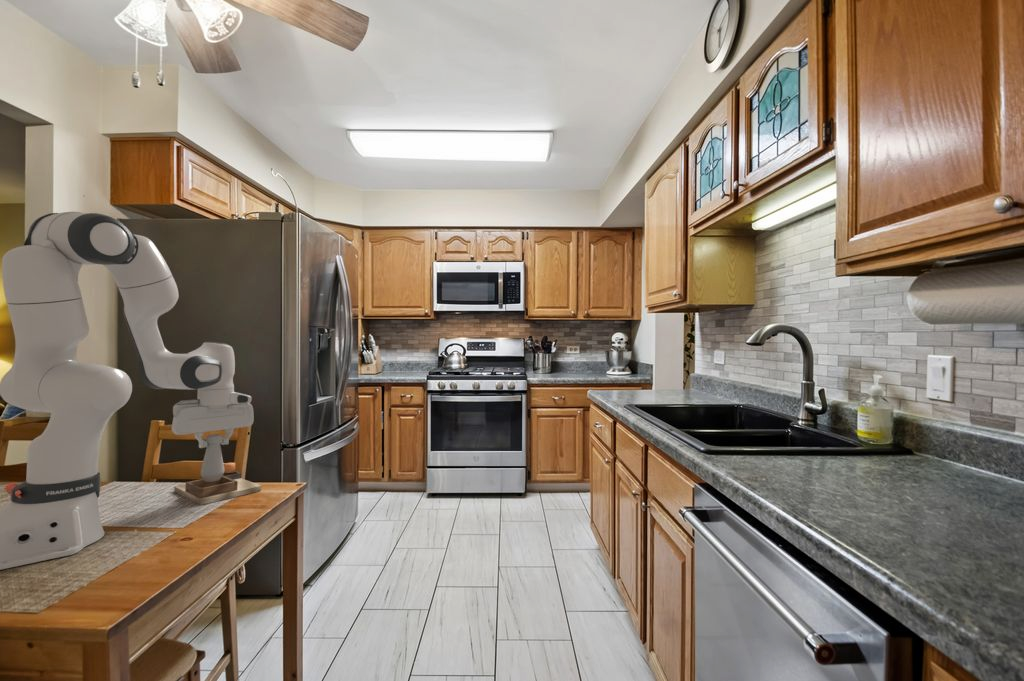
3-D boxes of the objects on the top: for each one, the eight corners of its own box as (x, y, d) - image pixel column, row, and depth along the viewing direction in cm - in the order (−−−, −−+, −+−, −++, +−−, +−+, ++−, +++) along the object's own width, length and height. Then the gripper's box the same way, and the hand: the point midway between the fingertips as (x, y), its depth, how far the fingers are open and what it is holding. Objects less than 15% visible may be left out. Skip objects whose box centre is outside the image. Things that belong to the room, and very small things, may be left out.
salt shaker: (204, 484, 126) (206, 437, 126) (196, 479, 129) (198, 434, 130) (227, 479, 131) (229, 434, 131) (219, 475, 134) (221, 432, 134)
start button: (225, 473, 140) (226, 465, 140) (221, 471, 141) (221, 463, 141) (236, 471, 142) (237, 463, 142) (232, 469, 144) (232, 462, 144)
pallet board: (200, 505, 122) (201, 490, 122) (174, 491, 132) (174, 477, 132) (261, 490, 135) (261, 477, 135) (232, 479, 146) (233, 466, 146)
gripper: (177, 402, 120) (175, 454, 120) (257, 396, 137) (255, 442, 137) (168, 400, 123) (166, 450, 123) (246, 394, 140) (245, 439, 140)
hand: (213, 445), depth 130 cm, fingers closed on salt shaker, 4 cm apart
